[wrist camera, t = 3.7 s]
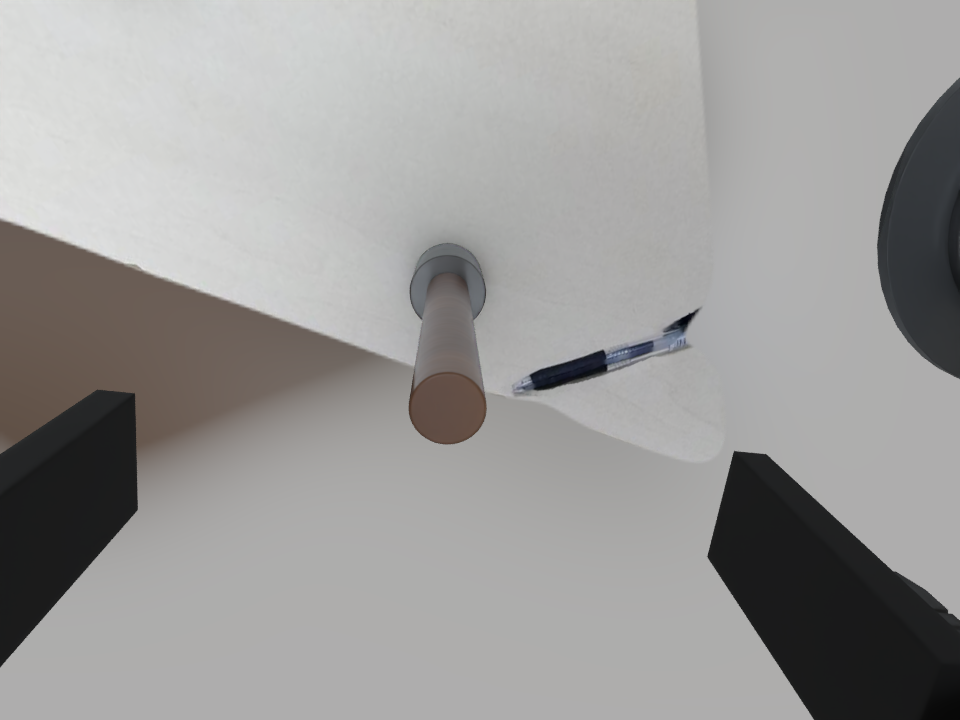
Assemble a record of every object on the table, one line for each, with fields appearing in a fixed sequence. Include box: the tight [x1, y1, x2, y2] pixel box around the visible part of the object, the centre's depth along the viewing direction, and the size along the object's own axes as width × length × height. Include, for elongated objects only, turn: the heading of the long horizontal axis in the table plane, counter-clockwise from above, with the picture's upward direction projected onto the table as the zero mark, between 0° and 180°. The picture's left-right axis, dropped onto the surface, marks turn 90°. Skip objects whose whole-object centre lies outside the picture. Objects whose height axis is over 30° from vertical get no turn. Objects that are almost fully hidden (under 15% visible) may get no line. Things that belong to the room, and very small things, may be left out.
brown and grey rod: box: [409, 243, 487, 444], centre depth 29 cm, size 4×4×22 cm
